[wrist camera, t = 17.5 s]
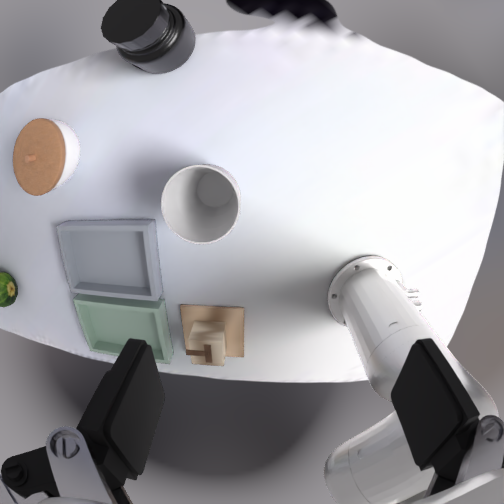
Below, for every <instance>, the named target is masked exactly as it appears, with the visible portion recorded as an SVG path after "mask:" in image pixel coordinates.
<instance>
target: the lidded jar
mask: <svg viewBox="0 0 504 504" xmlns="http://www.w3.org/2000/svg"><path fill="white" fill-rule="evenodd" d="M80 153H81V148H80V142H79V138H78V136H77V134H76V132H75V131H74V130H73V129H72V128H71V127H70V126H69V125H68V124H66V123H64V122H62V121H59V120H53V119H44V118H40V119H35V120H32V121H31V122H29V123H28V124H27V125H26V126H25V127H24V128H23V129H22V130H21V132H20V134H19V136H18V138H17V140H16V143H15V147H14V152H13V167H14V173H15V176H16V179H17V181H18V183H19V184H20V186H21V187H22V189H23V190H25V191H26V192H27V193H29V194H31V195H35V196H38V195H43V194H45V193H48V192H49V191H51V190H54V189H56V188H58V187H59V186H61V185H63V184H64V183H65V182H66V181H67V180H69V178H70V177H71V176H72V175H73V174H74V172H75V170H76V168H77V166H78V163H79V160H80Z"/></svg>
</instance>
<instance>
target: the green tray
mask: <svg viewBox="0 0 504 504" xmlns="http://www.w3.org/2000/svg"><path fill="white" fill-rule="evenodd" d="M73 301H74V305H75V308H76V311H77V314H78V317H79V320H80V324H81V326H82V329H83V332H84V335H85V338H86V341H87V343H88V346H89V349H90V351H93V352H98V353H103V354H108V355H113V356H119V354H120V353H121V351H122V349H123V347H124V346H125V344H126V342H127V340H128V339H130V338H133V339H141V340H145V341H146V342H147V344H148V345H151V347H152V351H153V355H154V358H155V362H157V363H165V364H170V361H171V359H172V356H173V348H172V342H171V337H170V331H169V325H168V320H167V313H166V307H165V300H164V299H158V301H149V300H137V299H126V298H116V297H107V296H98V295H89V294H81V293H79V294H78V295H77V296H76V297H75V298H74V299H73Z"/></svg>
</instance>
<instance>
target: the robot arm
mask: <svg viewBox="0 0 504 504" xmlns="http://www.w3.org/2000/svg"><path fill="white" fill-rule="evenodd" d="M355 265H356V266H355ZM354 266H355V267H354ZM418 296H419V291H418V289H410V290H407V289H406V288H405V287H404V286H403V281H402V277H401V274H400V272H399V270H398V269H397V268H396V266H395V265H394V264H393V263H391V262H390V261H389V260H387V259H385V258H382V257H378V256H367V257H362V258H359V259H356V260H354V261H352V262H350V263H349V264H347V265H346V266H345V267H343V268H342V269H341V270H340V271H339V272H338V274H337V275H336V276H335V278H334V279H333V281H332V283H331V285H330V288H329V292H328V305H329V309H330V311H331V314H332V315H333V317H334V318H335V319H336V320H337V321H338V322H339V323H340V324H342V325H344V326H346V327H348V329H349V331H350V334H351V336H352V339H353V341H354V344H355V346H356V349H357V351H358V354H359V356H360V359H361V361H362V364H363V366H364V369H365V372H366V374H367V377H368V379H369V382H370V384H371V386H372V388H373V389H374V391H375V392H376V393H377V394H378V395H379V396H381V397H382V398H384V399H386V400H388V401H390V402H392V403H393V405H394V408H395V410H396V411H394V412H393V413H391V414H390V415H389V416H388V417H386V418H385V419H383V420H382V421H380V422H378V423H377V424H375V425H373V426H372V427H370V428H368V429H367V430H365V431H363V432H362V433H360V434H358V435H356V436H355V437H353V438H351V439H350V440H348V441H346V442H345V443H343V444H341V445H340V446H338V447H337V448H336V449H335V450H334V451H333V452H332V453H331V454H330V455H329V457H328V458H327V460H326V463H325V467H324V478H325V483H326V486H327V488H328V490H329V492H330V494H331V496H332V498H333V499H334V500H335V502H336V503H337V504H504V422H503V421H502V420H501V419H500V418H499V416H498V411H497V407H496V405H495V403H494V401H493V399H492V398H491V396H490V395H489V394H488V392H487V391H486V390H485V389H484V388H483V387H482V386H481V385H480V383H479V382H478V381H477V380H475V378H474V377H472V375H470V373H469V372H468V371H467V370H466V369H465V368H464V367H463V366H462V365H461V364H460V363H459V362H458V361H457V359H456V358H455V357H454V356H453V355H452V353H451V352H450V351H449V349H448V348H447V347H446V346H445V344H444V343H443V342H442V340H441V339H440V338H439V336H438V335H437V334H436V332H435V331H434V330H433V328H432V327H431V326H430V324H429V323H428V322H427V320H426V319H425V318H424V316H423V315H422V314H421V313H420V311H421V302H420V301H411V300H410V299H409V298H417V297H418ZM164 401H165V393H164V390H163V387H162V383H161V380H160V376H159V373H158V369H157V366H156V362H155V358H154V355H153V351H152V347H151V345H148V344H147V342H146V341H145V340H141V339H133V338H130V339H128V340H127V342H126V344H125V346H124V347H123V349H122V351H121V353H120V354H119V356H118V358H117V360H116V362H115V363H114V365H113V367H112V369H111V370H110V371H107V372H106V374H105V375H104V377H103V379H102V380H101V382H100V384H99V386H98V388H97V390H96V391H95V393H94V395H93V397H92V399H91V401H90V403H89V405H88V406H87V409H86V411H85V412H84V414H83V416H82V419H81V420H80V422H79V424H78V426H77V428H76V429H75V428H73V427H68V426H64V427H59V428H57V429H55V430H54V431H52V432H51V433H50V434H49V436H48V438H47V441H46V446H45V447H42V448H39V449H35V450H32V451H29V452H26V453H23V454H20V455H16V456H12V457H10V458H8V459H7V460H6V461H5V462H4V463H3V465H2V469H1V474H0V504H133V503H132V501H131V500H130V497H129V496H128V494H127V492H126V490H125V488H124V487H123V486H124V484H125V480H126V478H129V479H133V480H136V479H137V476H138V475H141V474H142V473H143V471H144V467H145V464H146V460H147V457H148V454H149V450H150V447H151V444H152V440H153V437H154V434H155V430H156V427H157V424H158V420H159V417H160V414H161V411H162V407H163V404H164Z"/></svg>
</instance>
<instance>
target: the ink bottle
mask: <svg viewBox="0 0 504 504" xmlns="http://www.w3.org/2000/svg"><path fill="white" fill-rule="evenodd" d="M101 29H102V33H103V37H105V38H106V39H107V40H108V41H109V42H111V43H112V44H114V45H116V47H117V51H118V53H119V55H120V56H121V57H122V58H123V59H124V60H125V61H127V62H129V63H130V64H132V65H134V66H136V67H138V68H140V69H142V70H144V71H146V72H149V73H156V74H159V73H166V72H170V71H173V70H175V69H177V68H179V67H180V66H182V65H183V64H184V63H185V62H186V61H187V60H188V59H189V57H190V56H191V54H192V52H193V50H194V47H195V33H194V30H193V29H192V27H191V25H190V24H189V22H188V21H187V19H186V18H185V16H184V15H183V13H182V12H181V11H180V10H179V9H178V8H176V7H175V6H172V5H169V4H164V3H163V2H162V1H161V0H117V1H116V2H115V3H114V4H113V5H112V6H111V7H109V9H108V11H107V12H106V14H105V16H104V17H103V21H102V26H101Z"/></svg>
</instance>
